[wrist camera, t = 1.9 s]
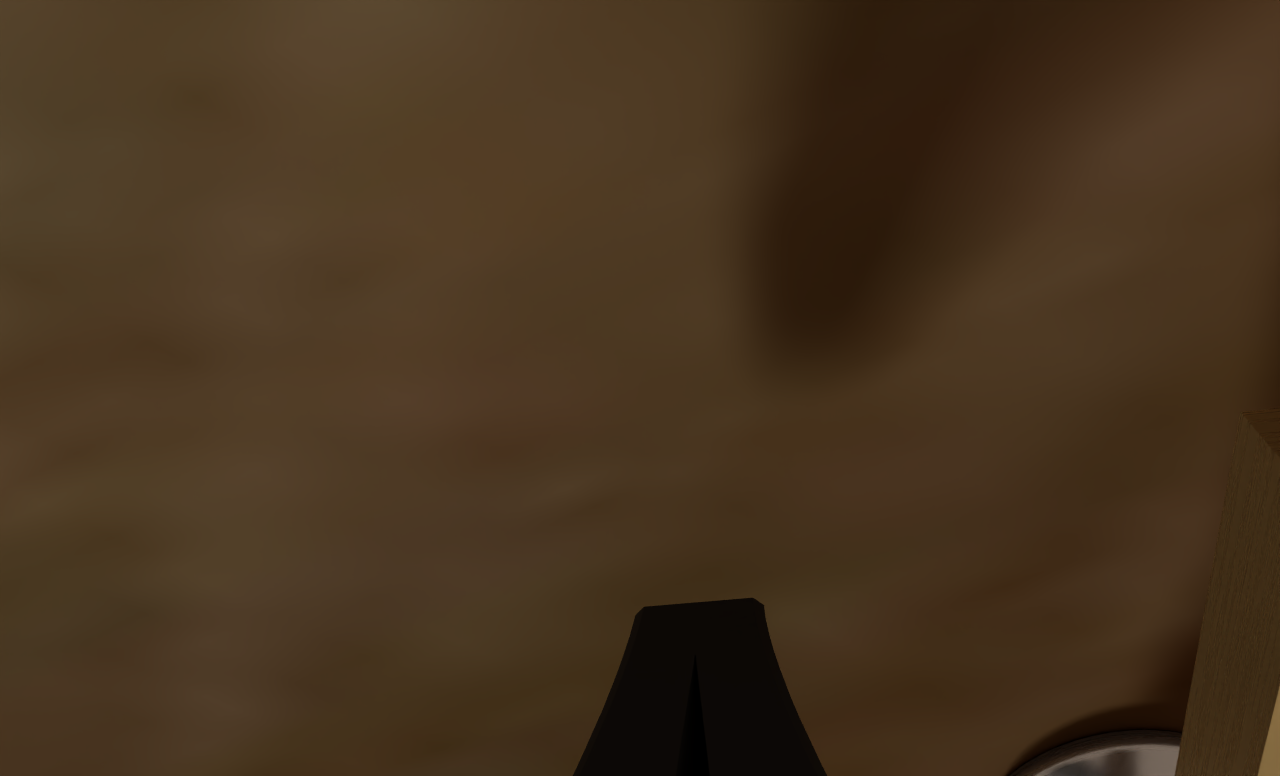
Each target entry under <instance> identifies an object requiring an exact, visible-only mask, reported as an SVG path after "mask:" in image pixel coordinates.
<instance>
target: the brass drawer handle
mask: <svg viewBox="0 0 1280 776" xmlns="http://www.w3.org/2000/svg"><path fill="white" fill-rule="evenodd" d="M1175 776H1280V408H1277V409H1267V410H1257V411H1246V412H1240V418H1239V423H1238V429H1237V434H1236V440H1235V445H1234V451H1233V456H1232V462H1231V467H1230V473H1229V478H1228V484H1227V489H1226V495H1225V500H1224V506H1223V511H1222V517H1221V522H1220V528H1219V533H1218V539H1217V544H1216V550H1215V555H1214V561H1213V566H1212V572H1211V577H1210V583H1209V588H1208V594H1207V599H1206V605H1205V610H1204V616H1203V621H1202V627H1201V632H1200V638H1199V643H1198V649H1197V654H1196V660H1195V665H1194V671H1193V676H1192V682H1191V687H1190V693H1189V699H1188V704H1187V710H1186V715H1185V721H1184V726H1183V732H1182V737H1181V743H1180V748H1179V754H1178V759H1177V765H1176V770H1175Z"/></svg>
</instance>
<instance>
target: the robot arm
mask: <svg viewBox="0 0 1280 776" xmlns="http://www.w3.org/2000/svg"><path fill="white" fill-rule="evenodd" d="M573 776H827V774H826V773H825V771H824V769H823V767H822V765H821V763H820V760H819V758H818V756H817V754H816V752H815V750H814V748H813V746H812V743H811V741H810V739H809V737H808V735H807V733H806V731H805V729H804V726H803V724H802V722H801V720H800V718H799V716H798V713H797V711H796V709H795V706H794V704H793V702H792V699H791V697H790V694H789V692H788V689H787V686H786V684H785V681H784V678H783V676H782V673H781V671H780V668H779V665H778V662H777V659H776V656H775V653H774V650H773V646H772V643H771V639H770V636H769V632H768V627H767V623H766V618H765V610H764V605H763V604H761V603H760V602H759V601H757V600H756V599H754V598H744V599H732V600H720V601H708V602H696V603H684V604H673V605H661V606H649V607H643V608H642V609H641V610H640V611H639V612H638V613H637V614H636V616H635V619H634V623H633V627H632V630H631V634H630V637H629V640H628V643H627V646H626V649H625V653H624V655H623V658H622V661H621V664H620V667H619V669H618V672H617V675H616V678H615V680H614V683H613V685H612V688H611V690H610V693H609V695H608V698H607V700H606V703H605V705H604V708H603V710H602V713H601V715H600V717H599V719H598V722H597V724H596V726H595V728H594V730H593V733H592V735H591V737H590V739H589V742H588V744H587V746H586V748H585V751H584V753H583V755H582V757H581V760H580V762H579V764H578V766H577V768H576V770H575V772H574V775H573Z"/></svg>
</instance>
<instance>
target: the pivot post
mask: <svg viewBox="0 0 1280 776" xmlns="http://www.w3.org/2000/svg"><path fill="white" fill-rule="evenodd" d="M1181 737H1182V733H1177V732H1171V731H1158V730H1130V731H1121V732H1111V733H1106V734H1101V735H1096V736H1091V737H1087V738H1083V739H1080V740H1076V741H1073V742H1070V743H1067V744H1065V745H1062V746H1059V747H1056V748H1054V749H1052V750H1050V751H1048V752H1046V753H1044V754H1041V755H1039V756H1037V757H1036V758H1034V759H1032V760H1031V761H1029V762H1027V763H1026V764H1024V765H1023V766H1021V767H1020V768H1019V769H1017V770H1016V771H1015V772H1013V773H1012V774H1011V775H1010V776H1175V770H1176V765H1177V759H1178V754H1179V748H1180V743H1181Z"/></svg>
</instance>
